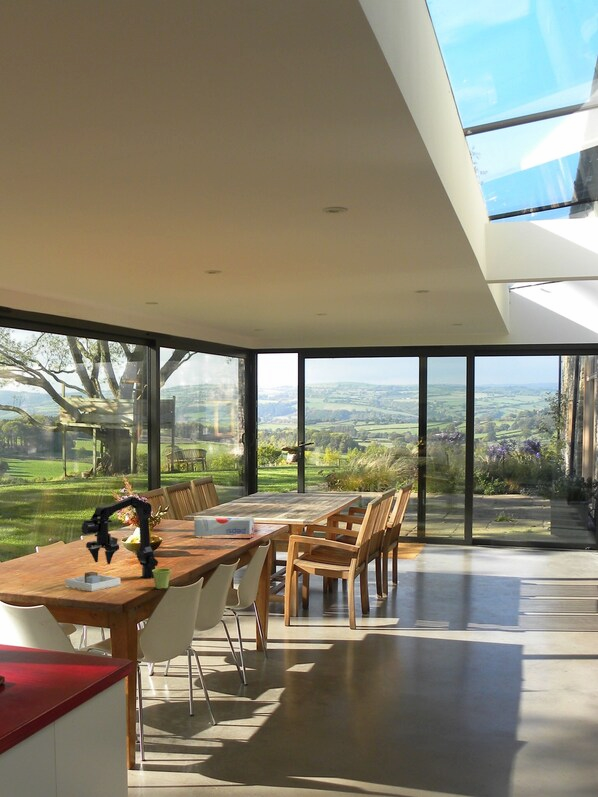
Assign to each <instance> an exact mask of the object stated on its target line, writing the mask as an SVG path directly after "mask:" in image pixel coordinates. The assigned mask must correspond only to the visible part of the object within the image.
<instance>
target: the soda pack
mask: <svg viewBox="0 0 598 797" xmlns="http://www.w3.org/2000/svg"><path fill="white" fill-rule="evenodd" d="M193 523H194V527H193V528H194V537H195V536H212V535H234V534H235V535H236V534H251V533H253V532H254V533H255V518H254V517H206V516H205V517H199V518H195V519H194V522H193Z"/></svg>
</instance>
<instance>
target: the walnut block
mask: <svg viewBox="0 0 598 797" xmlns="http://www.w3.org/2000/svg"><path fill="white" fill-rule="evenodd" d="M84 576H85V583H87V577H89V576H98V572H95V571H89V572H84Z"/></svg>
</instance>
